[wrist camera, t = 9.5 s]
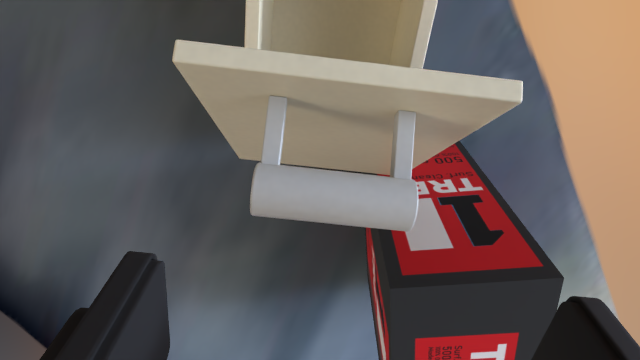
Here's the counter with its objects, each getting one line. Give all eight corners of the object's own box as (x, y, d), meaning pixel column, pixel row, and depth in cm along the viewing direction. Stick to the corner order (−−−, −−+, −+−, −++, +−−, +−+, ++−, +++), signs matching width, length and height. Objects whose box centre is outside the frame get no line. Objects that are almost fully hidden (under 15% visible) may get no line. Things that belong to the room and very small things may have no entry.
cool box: (268, -90, 31) (249, -109, 23) (423, -69, 32) (456, -80, 24) (258, 112, 38) (241, 150, 30) (385, 126, 39) (400, 168, 31)
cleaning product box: (447, 273, 47) (522, 463, 29) (367, 278, 47) (393, 468, 29) (455, 136, 39) (563, 277, 21) (361, 143, 40) (390, 288, 22)
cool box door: (174, 38, 14) (148, 201, 13) (524, 80, 14) (519, 239, 13) (240, 148, 30) (230, 222, 29) (401, 165, 31) (396, 239, 30)
